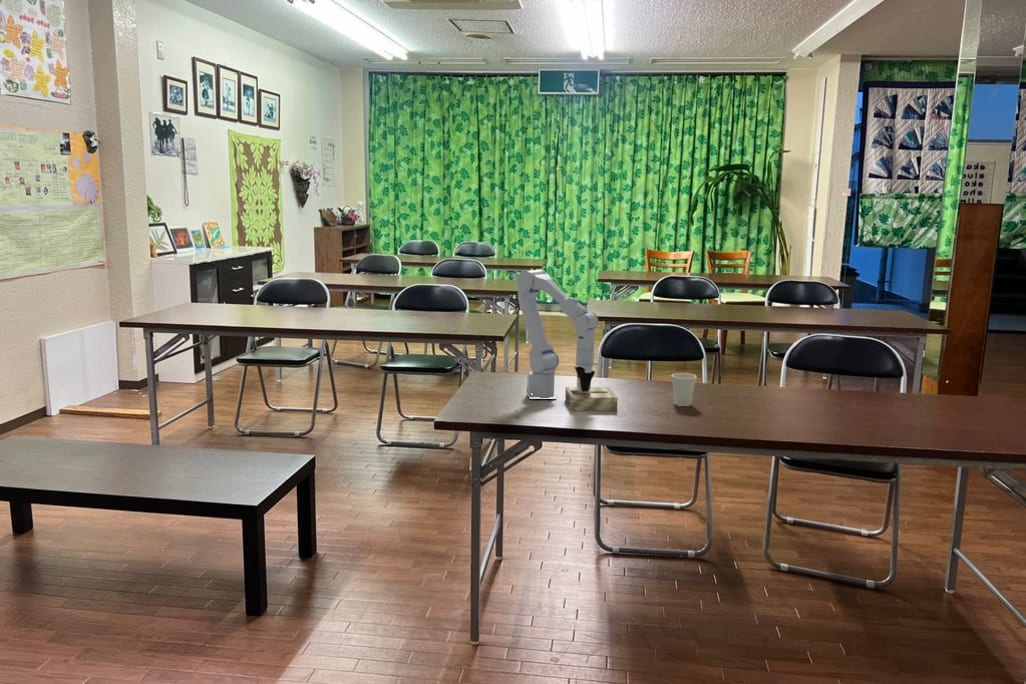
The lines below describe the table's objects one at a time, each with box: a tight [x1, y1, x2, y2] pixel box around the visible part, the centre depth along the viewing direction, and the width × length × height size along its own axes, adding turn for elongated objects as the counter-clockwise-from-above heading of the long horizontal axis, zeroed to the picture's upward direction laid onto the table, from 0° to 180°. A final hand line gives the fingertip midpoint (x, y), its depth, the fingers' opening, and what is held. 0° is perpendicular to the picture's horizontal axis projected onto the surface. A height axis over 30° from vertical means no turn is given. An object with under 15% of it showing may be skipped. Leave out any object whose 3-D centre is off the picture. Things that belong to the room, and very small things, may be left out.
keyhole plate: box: [564, 386, 619, 412], centre depth 258 cm, size 15×14×4 cm
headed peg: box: [576, 375, 592, 395], centre depth 257 cm, size 4×4×9 cm
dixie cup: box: [671, 372, 698, 407], centre depth 261 cm, size 8×8×10 cm
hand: (583, 389), depth 257 cm, fingers closed on headed peg, 4 cm apart
